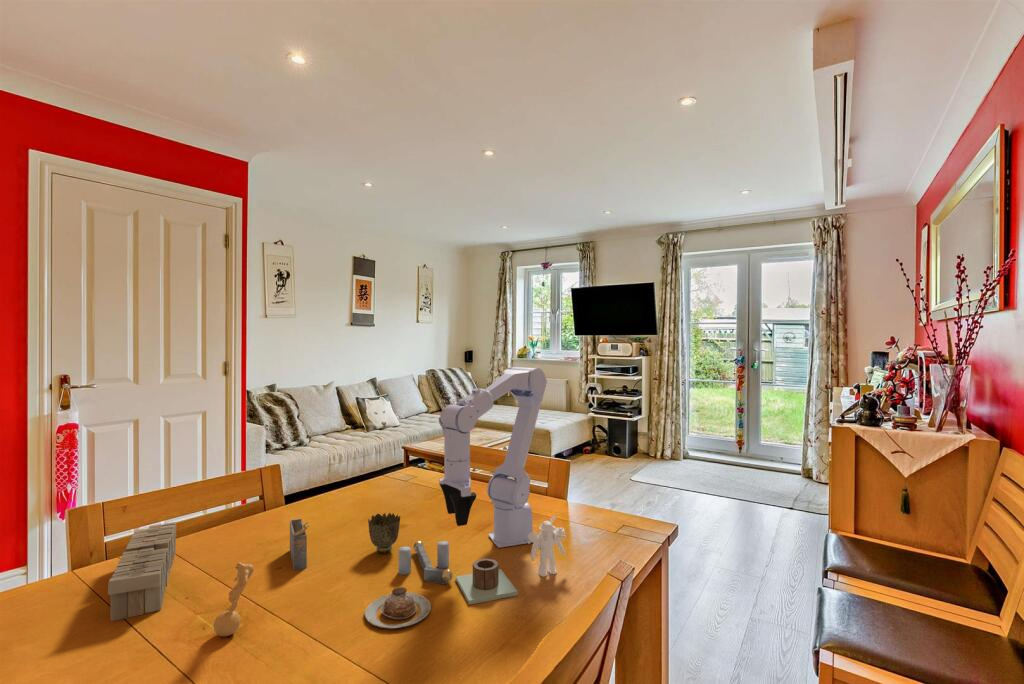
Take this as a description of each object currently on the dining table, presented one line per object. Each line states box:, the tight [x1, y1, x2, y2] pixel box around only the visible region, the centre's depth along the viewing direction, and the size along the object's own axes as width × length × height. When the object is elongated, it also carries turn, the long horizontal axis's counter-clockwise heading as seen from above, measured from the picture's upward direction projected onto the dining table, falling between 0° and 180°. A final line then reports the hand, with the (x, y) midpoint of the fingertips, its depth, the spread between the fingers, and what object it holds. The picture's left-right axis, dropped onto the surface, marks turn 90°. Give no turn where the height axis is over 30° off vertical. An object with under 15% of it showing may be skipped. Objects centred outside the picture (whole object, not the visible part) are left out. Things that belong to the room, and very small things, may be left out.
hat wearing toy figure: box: [527, 514, 567, 578], centre depth 108 cm, size 9×4×12 cm, turn 112°
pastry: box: [364, 586, 432, 629], centre depth 92 cm, size 12×12×5 cm
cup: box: [367, 512, 401, 555], centre depth 118 cm, size 8×7×8 cm
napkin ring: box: [472, 558, 500, 590], centre depth 101 cm, size 5×5×4 cm
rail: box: [413, 540, 454, 586], centre depth 110 cm, size 6×19×3 cm, turn 21°
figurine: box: [213, 562, 255, 637], centre depth 85 cm, size 8×6×12 cm
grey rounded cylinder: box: [398, 546, 412, 576], centre depth 108 cm, size 3×3×5 cm
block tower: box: [107, 521, 177, 622], centre depth 102 cm, size 8×8×29 cm
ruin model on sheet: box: [289, 518, 310, 571], centre depth 114 cm, size 11×3×10 cm, turn 28°
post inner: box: [436, 540, 450, 569], centre depth 111 cm, size 3×3×5 cm
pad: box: [455, 568, 518, 605], centre depth 101 cm, size 10×10×1 cm
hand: (457, 518), depth 111 cm, fingers open, 7 cm apart
